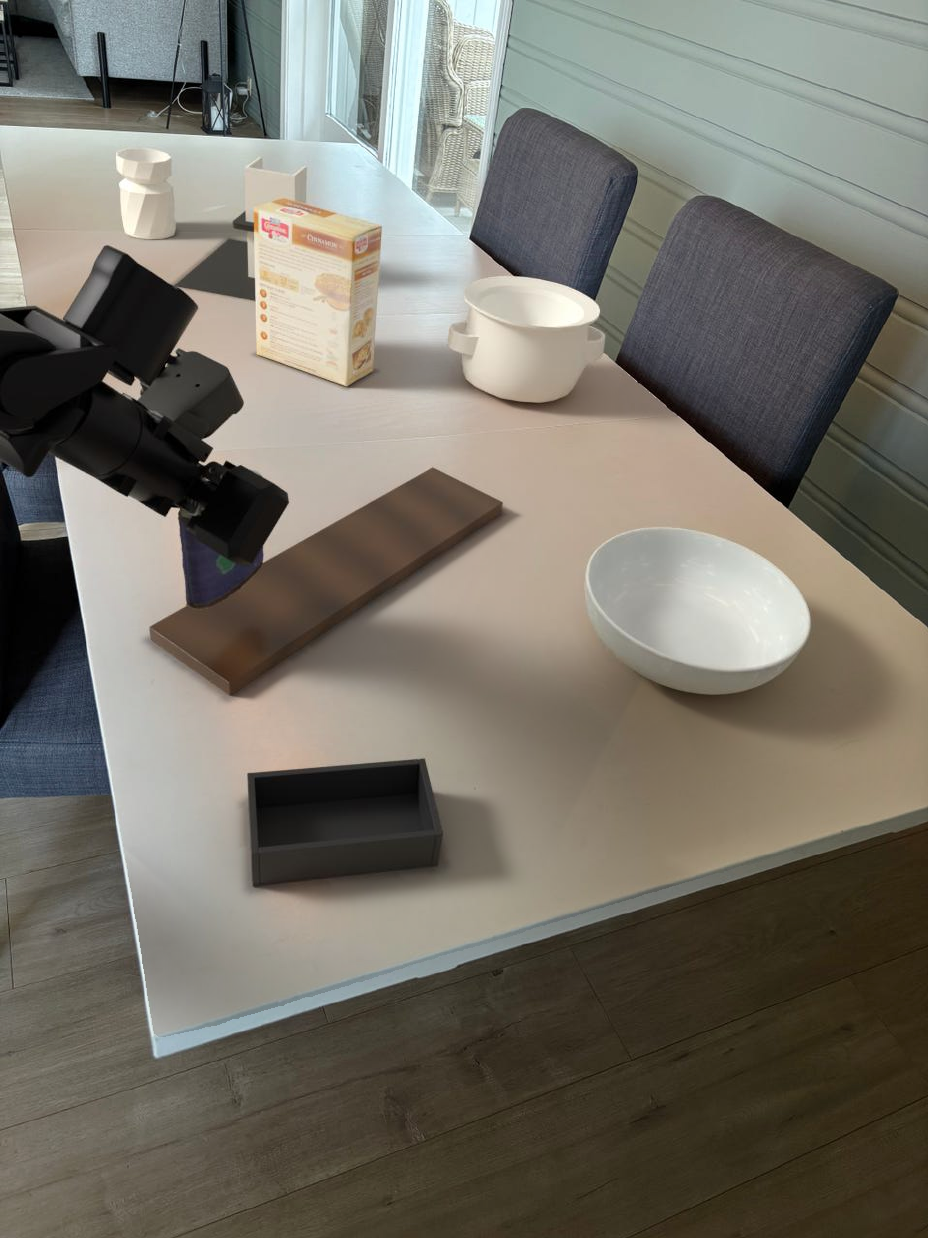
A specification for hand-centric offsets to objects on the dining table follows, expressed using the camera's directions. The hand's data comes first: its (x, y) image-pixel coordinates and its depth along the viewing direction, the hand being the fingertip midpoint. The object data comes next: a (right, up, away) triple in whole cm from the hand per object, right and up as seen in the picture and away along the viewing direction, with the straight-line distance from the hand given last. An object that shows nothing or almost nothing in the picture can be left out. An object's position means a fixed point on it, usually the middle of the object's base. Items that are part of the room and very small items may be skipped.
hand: (236, 513), depth 75 cm
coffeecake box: (-2, +26, +51) cm, 57 cm away
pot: (+26, +24, +53) cm, 64 cm away
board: (+7, -4, +16) cm, 18 cm away
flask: (-2, -6, +3) cm, 7 cm away
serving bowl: (+39, -11, +13) cm, 43 cm away
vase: (-35, +58, +82) cm, 107 cm away
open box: (+10, -24, -8) cm, 28 cm away
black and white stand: (-12, +48, +74) cm, 89 cm away
